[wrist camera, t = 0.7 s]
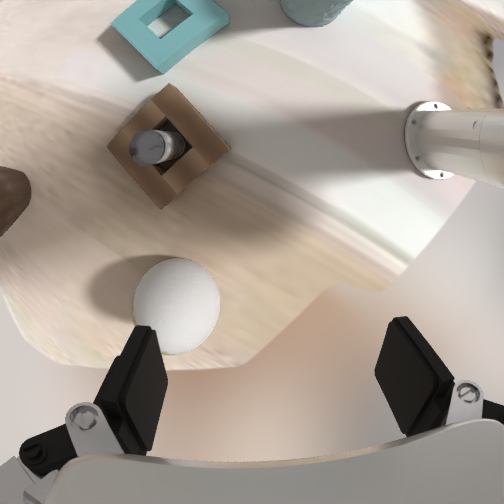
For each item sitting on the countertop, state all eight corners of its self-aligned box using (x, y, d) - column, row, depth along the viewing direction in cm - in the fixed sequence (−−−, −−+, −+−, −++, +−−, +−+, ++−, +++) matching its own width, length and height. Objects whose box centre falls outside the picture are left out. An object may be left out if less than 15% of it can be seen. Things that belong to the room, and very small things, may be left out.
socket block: (180, -18, 27) (175, -28, 24) (230, 23, 30) (227, 13, 27) (119, 30, 30) (110, 23, 27) (163, 74, 33) (155, 69, 30)
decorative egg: (136, 284, 45) (97, 338, 31) (178, 232, 42) (144, 277, 28) (192, 328, 48) (173, 392, 34) (239, 283, 45) (233, 346, 31)
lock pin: (172, 125, 36) (147, 122, 27) (190, 146, 37) (170, 148, 28) (152, 145, 37) (122, 147, 28) (169, 165, 38) (144, 173, 29)
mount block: (176, 87, 34) (169, 83, 31) (230, 148, 37) (228, 149, 34) (117, 145, 37) (106, 146, 34) (168, 204, 40) (160, 209, 37)
